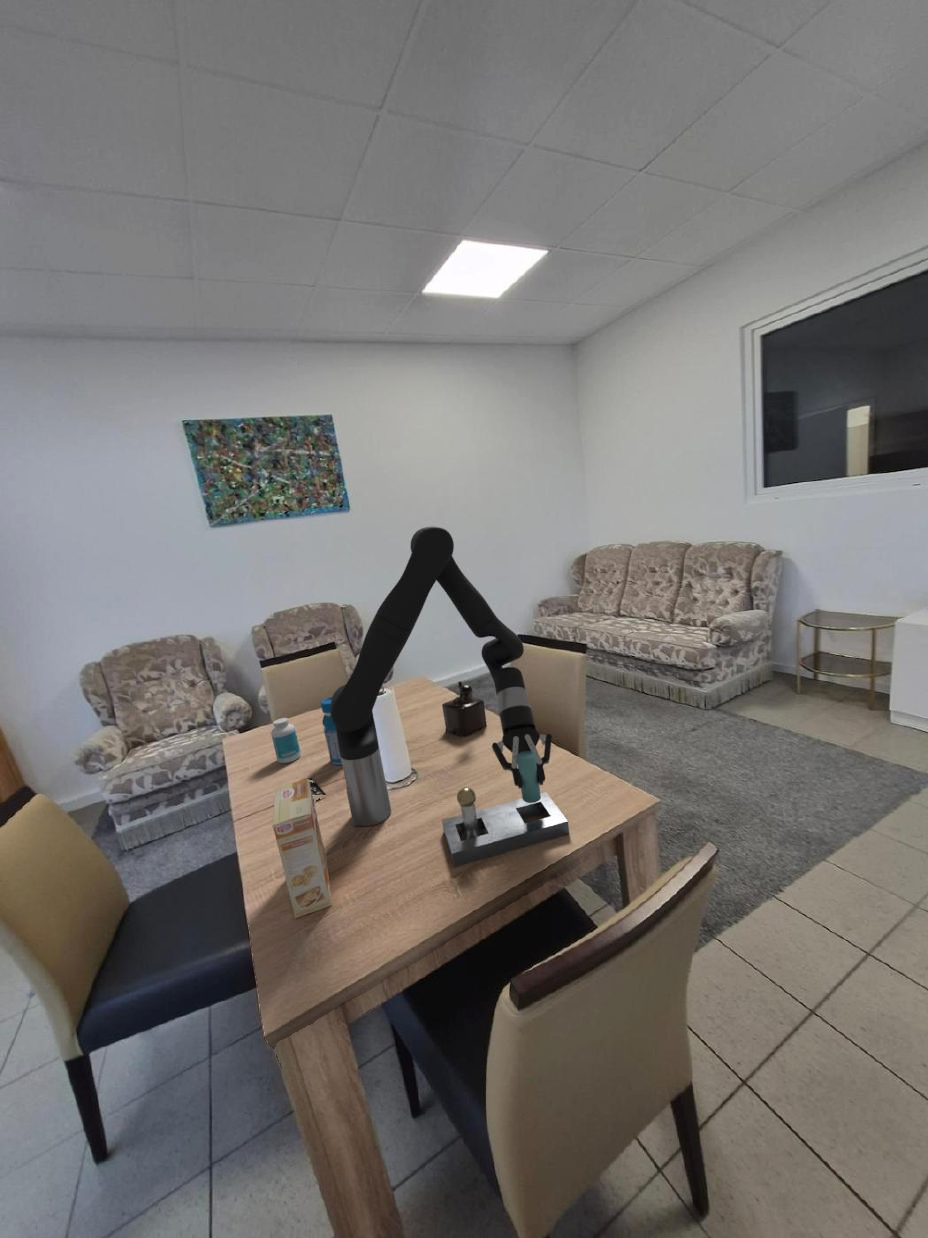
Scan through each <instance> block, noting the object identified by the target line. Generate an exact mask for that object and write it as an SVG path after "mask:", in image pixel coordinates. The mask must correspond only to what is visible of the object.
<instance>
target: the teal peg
mask: <svg viewBox="0 0 928 1238" xmlns="http://www.w3.org/2000/svg"><path fill="white" fill-rule="evenodd" d="M516 757H517V768H518V769H519V773H520V778H521V783H522V788H520V791H521V799H523V801H525V802H527V803H535V802H537V801H539V800H540V799H541V790H540V788H541V787H540V785H539V780H538V773H537V765H536V758H535V753H534V752H531V751H523V752H520V753H518V754H517V756H516Z"/></svg>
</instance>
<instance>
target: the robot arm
mask: <svg viewBox="0 0 928 1238" xmlns="http://www.w3.org/2000/svg"><path fill="white" fill-rule="evenodd" d="M409 547H410V552H411V554H410V555H409V559H408V561H407V564H406V566H405V569H404V570H403V573H402V574H401V576H400V579H398V581H397V583H395V585H394V586H393V588H392V589H391V590H390V592H389V593H388V594H387V595H386V597H385V599H384V600H383V601H382V602H381V604H380V606H379V608H378V609H377V611H376V613H375V615H374V617H373V619H372V621H371V623H370V625H369V627H368V630H367V632H366V634H365V636H364V639H363V641H362V645H361V647H360V651H359V655H358V659H357V660H356V664H355V667H354V669H353V671H352V673H351V675H350V677H349V679H348V680H347V682H346V684H344V685H341V686H339V687H338V688H337V689H335V691H334V693H333V695H332V696H331V697H332V700H331V707H330V715H331V719H332V721H333V723H334V725H335V726H336V731H337V738H338V747H339V752H340V756H341V761H342V764H341V765H342V770H343V774H344V779H345V783H346V795H347V801H348V806H349V809H350V811H349V812H350V815H351V819H352V824H353V827H357V826H358V827H359V826H360V827H369V826H370V827H371V826H374V825H377V824H380V823H382V822H384V821H385V820H387V819H388V818H389V817H390V815H391V813H392V808H391V801H390V798H389V792H388V787H387V781H386V776H385V771H384V765H383V761H382V756H381V750H380V746H379V740H378V738H379V737H378V733H377V727H376V722H375V718H374V712H373V711H374V710H373V709H374V706H375V705H376V702H377V698H378V697H379V694H380V691H381V689H382V686H383V684H384V682H385V681H386V679H387V677H388V675H389V674H390V673H391V670H392V668H393V667H394V666H395V664H396V662H397V660H398V658H399V656H400V654H401V653H402V651H403V649H404V647H405V645H406V644H407V642H408V640H409V637H410V635H411V634H412V631H413V630H414V628H415V626H416V623H417V621H418V619H419V617H420V614H421V612H422V611H423V608H424V606H425V603H426V601H427V598H428V596H429V593H430V592H431V591H432V588H433V587H434V584H435V583H436V582H437V583H438V584H439V586H440V587H441V588H442V589H443V591H444V592H445V593H446V595H447V596H448V598H449V600H450V601H451V603H452V604H453V605H454V607H455V609H456V610H457V612H458V613H459V615H460V616H461V617H462V619H463V620H464V623H465V624H466V625H467V626H468V628H469V629H470V631H471V632H472V633H473V635H474V636H475V637H476V638H479V639H481V638H489V637H493V639H492V640H489V641H487V642H485V643H484V644H483V646H482V649H481V657H482V660H483V662H484V664H485V665H486V667H487V669H488V670H489V671H488V672H489V673H490V675H491V678H492V681H493V683H494V687H495V688H494V689H495V693H496V700H497V701H496V702H497V703H496V704H497V709H498V711H497V713H498V716H499V719H500V724H501V730H502V735H503V736H502V737H501V738H502V739H501V740H500V741H498V742H493V743H492V745H491V746H492V752H493V753H494V755H495V757H496V759H497V760H498V762H499V764H500V766H501V768H502V769H503V770H504V771H510V772H511V773H512V778H513V779H512V780H513V783H514V786H515V787H518V789H519V790H521V788H522V783H521V778H520V773H519V769H518V764H517V757H516V756H517V754H518V753H520V752H523V751H531V752H534V753H535V758H536V765H537V773H538V780H539V786H543V785H544V783H545V780H546V774H545V771H544V770H545V769H544V766H545V765H547V764H549V762H550V759H551V758H550V757H551V748H552V738H553V736H552V734H550V733H547V734H540V732H539V731H538V730H537V728H536V727H537V726H536V723H535V719H534V714H533V711H532V706H531V702H530V698H529V696H528V693H527V690H526V685H525V682H524V681H525V680H524V676H523V674H522V671H521V670H520V669H519V668H517V667H515V666H509V667H504V666H505V665H508V664H510V663H512V662H515V661H517V660H519V659H520V658H521V657H522V656H523V654H524V652H525V651H524V650H525V649H524V644H523V642H522V640H521V638H520V637H519V635H517V634H516V632H514V631H512V630H511V629H510V628H509V627H508V626H507V625H506V624H504V623H503V622H502V621H501V620H500V619H499V618H498V616H497V615H496V614H495V612H494V611H493V610H492V608H491V606H490V605H489V603H488V602H487V600H486V599H485V598H484V597H483V596H482V594H481V593H480V591H479V590H478V589H476V587H475V585H473V584H472V582H470V580H469V579H468V577H467V576H466V575H465V574H464V573H463V572H462V570H461V568H460V567H459V565H458V564H457V563H456V561H455V558H454V556H453V554H454V549H455V544H454V539H453V537H452V534H451V533H449V531H448V530H447V529H445V527H444V528H443V527H441V526H435V525H433V526H425V527H422V528H419V529H418V530H417V531H416V532H415V533H414V534H413V535H412V537H411V540H410V546H409ZM539 741H541V744H542V746H544V752H543V756H542V757H541V756H540V754H539V751H538V748H537V746H538V743H539ZM504 747H505V748H507V750H509V752H511V762H509V761H508V760H507V759H506V757H505V755H504V753H503V751H504Z"/></svg>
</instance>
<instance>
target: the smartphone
mask: <svg viewBox="0 0 928 1238" xmlns="http://www.w3.org/2000/svg"><path fill="white" fill-rule="evenodd" d="M307 779H309V780H314V779H313V778H312V777H309V778H307ZM310 787H311V788H312V789H311V792H312V795H327V794H326V792H324V791H323V789H322V788H321V787H320V786H319V785H318V783H317V782H315V783H314V782H313V783H312V782H310ZM314 788H316V789H315V790H316V791H314ZM318 800H320V798H319V799H318ZM318 800H316V801H318ZM313 801H314V798H313ZM320 801H321V800H320ZM318 802H319V801H318Z"/></svg>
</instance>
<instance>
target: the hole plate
mask: <svg viewBox="0 0 928 1238" xmlns="http://www.w3.org/2000/svg"><path fill="white" fill-rule="evenodd" d="M540 794H541V799H540V800H539V801H537V802H535V803H527V802H525V801H523V799H522V798H518V799H516V800H512V801H509V802H504V803H500V804H496V805H492V806H488V807H485V808H482V809H478V810H477V809H476V803H475V802H476V800H477V795H476V792H475V791H474V789H472V788H470V787H467V786H466V787H465V786H464V787H462V788H461V789H460V790H458V793H457V795H456V800H457V802H458V804H459V805H460V809H461V810H460V811H461V814H459V815H456V816H451V817H448V818H443V819H441V823H442V830H443V834H444V838H445V840H446V844H447V848H448V850H449V854H450V858H451V861H452V864H453V867H454V868H455V867H458V866H459V867H460V866H463V865H466V864H469V863H472V862H475V861H479V860H482V859H486V858H489V857H493V856H497V855H500V854H501V855H502V854H504V853H508V852H512V851H514V850H518V849H521V848H525V847H528V846H529V847H530V846H531V845H536V844H538V843H539V844H540V843H542V842H545V841H546V842H547V841H550V840H553V839H556V838H560V837H563V836H567V835H570V828H569V827H570V826H569V820H568V819H567V818H566V817H565V815H564V814H563V813H562V812H561V810H560V808H559V807H558V806H557V805H556V804H555V802H554V801H553V799H552V798H551V796H550V795H549V794H548V792H546V791H545V792H542V793H541V792H540ZM539 815H543V817H544V818H540V819H537V820H533V821H528V822H524V820H523V819H527V818H532V817H534V816H539ZM480 831H483V832H484V834H483V835H480ZM462 836H465V839H464V840H461V838H460V837H462Z"/></svg>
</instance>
